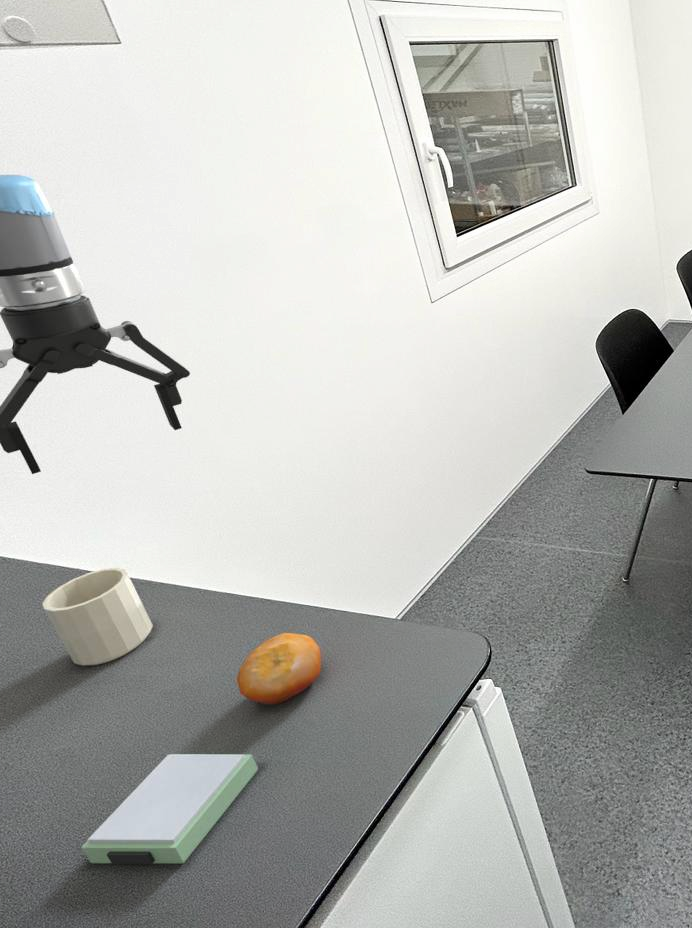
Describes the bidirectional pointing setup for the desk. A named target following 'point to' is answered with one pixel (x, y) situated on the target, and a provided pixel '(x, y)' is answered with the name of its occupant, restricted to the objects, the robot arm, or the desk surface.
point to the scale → (171, 809)
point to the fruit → (280, 668)
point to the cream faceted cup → (98, 616)
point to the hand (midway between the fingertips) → (109, 446)
